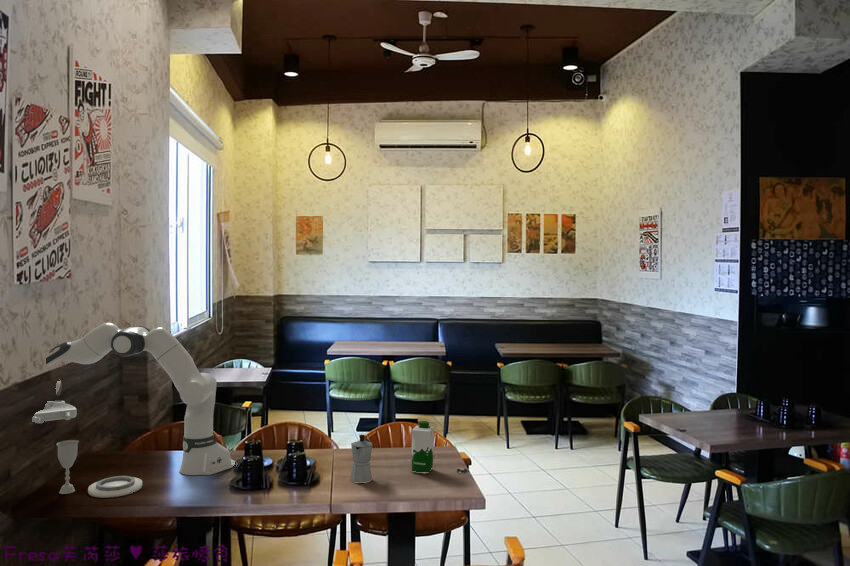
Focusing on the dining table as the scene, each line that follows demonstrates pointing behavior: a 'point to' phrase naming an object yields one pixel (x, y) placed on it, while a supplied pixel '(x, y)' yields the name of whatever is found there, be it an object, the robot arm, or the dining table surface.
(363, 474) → the coffee maker
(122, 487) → the carrier plate
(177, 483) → the dining table surface
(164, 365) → the robot arm
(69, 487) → the chalice
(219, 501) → the dining table surface
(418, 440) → the milk carton
